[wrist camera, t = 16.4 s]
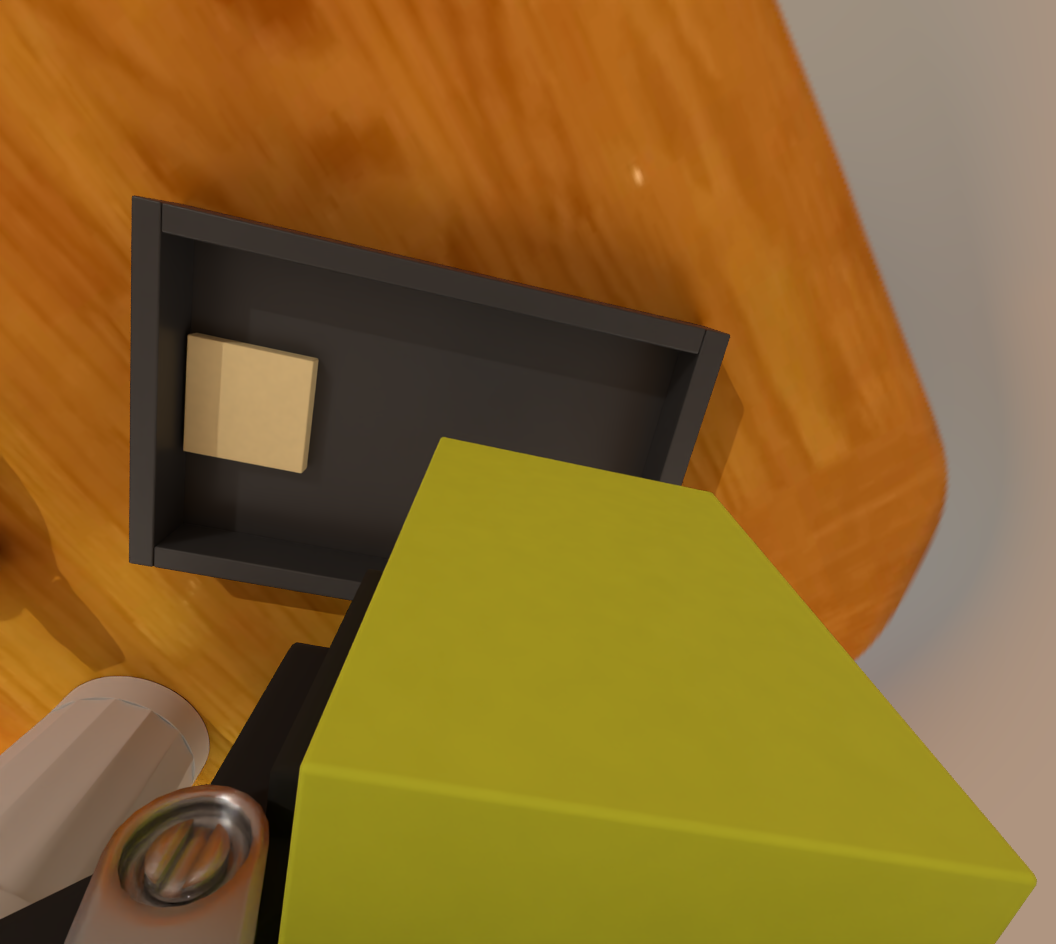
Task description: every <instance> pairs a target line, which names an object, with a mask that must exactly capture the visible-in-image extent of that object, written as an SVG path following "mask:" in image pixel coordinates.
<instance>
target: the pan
mask: <svg viewBox="0 0 1056 944" xmlns="http://www.w3.org/2000/svg"><path fill="white" fill-rule="evenodd" d="M193 333H201V334H205V335H210V336H215V337H220V338H224V339H229V340H234V341H238V342H243V343H248V344H253V345H257V346H262V347H267V348H271V349H276V350H281V351H286V352H290V353H295V354H300V355H304V356H309V357H314V358H318V360H319V361H318V370H317V379H316V388H315V397H314V406H313V416H312V425H311V434H310V443H309V452H308V461H307V468H306V469H305V470H304V471H303V472H302V473H297V472H291V471H286V470H281V469H276V468H270V467H265V466H260V465H255V464H250V463H244V462H239V461H234V460H229V459H223V458H218V457H213V456H208V455H203V454H197V453H192V452H187V451H183V442H184V415H185V389H186V362H187V336H188V335H189V334H193ZM729 338H730V335H729V334H727V333H724V332H720V331H717V330H714V329H711V328H708V327H705V326H701V325H697V324H693V323H689V322H684V321H680V320H676V319H671V318H667V317H663V316H659V315H654V314H650V313H646V312H642V311H637V310H633V309H629V308H624V307H620V306H616V305H612V304H607V303H603V302H599V301H594V300H590V299H586V298H582V297H577V296H573V295H569V294H565V293H560V292H556V291H552V290H547V289H543V288H539V287H535V286H530V285H526V284H522V283H517V282H513V281H509V280H505V279H500V278H496V277H492V276H488V275H483V274H479V273H475V272H470V271H466V270H462V269H458V268H453V267H449V266H445V265H440V264H436V263H432V262H428V261H423V260H419V259H415V258H411V257H406V256H402V255H398V254H393V253H389V252H385V251H381V250H376V249H372V248H368V247H363V246H359V245H355V244H351V243H346V242H342V241H338V240H334V239H329V238H325V237H321V236H316V235H312V234H308V233H304V232H299V231H295V230H291V229H286V228H282V227H278V226H274V225H269V224H265V223H261V222H256V221H252V220H248V219H244V218H239V217H235V216H231V215H227V214H222V213H218V212H214V211H209V210H205V209H201V208H197V207H192V206H188V205H184V204H179V203H174V202H168V201H162V200H157V199H151V198H145V197H140V196H132V242H131V376H130V510H129V562H130V563H133V564H139V565H145V566H151V567H152V566H155V567H158V568H164V569H170V570H176V571H181V572H187V573H193V574H199V575H205V576H211V577H217V578H222V579H228V580H234V581H240V582H246V583H252V584H258V585H264V586H269V587H275V588H281V589H287V590H293V591H299V592H305V593H310V594H316V595H322V596H328V597H334V598H340V599H346V600H351V601H352V600H353V598H354V596H355V594H356V592H357V590H358V588H359V586H360V584H361V582H362V580H363V577H364V575H365V573H366V571H367V570H368V569H374V570H379V571H384V569H385V567H386V565H387V562H388V560H389V558H390V555H391V553H392V551H393V548H394V546H395V544H396V541H397V539H398V537H399V534H400V532H401V530H402V527H403V525H404V523H405V520H406V518H407V516H408V513H409V511H410V509H411V506H412V504H413V502H414V499H415V497H416V495H417V492H418V490H419V488H420V485H421V483H422V481H423V478H424V476H425V473H426V471H427V469H428V466H429V464H430V462H431V459H432V457H433V455H434V452H435V450H436V448H437V445H438V443H439V441H440V439H441V438H442V437H446V438H451V439H456V440H461V441H466V442H470V443H475V444H480V445H485V446H490V447H495V448H499V449H504V450H509V451H514V452H519V453H524V454H528V455H533V456H538V457H543V458H548V459H553V460H557V461H562V462H567V463H572V464H577V465H582V466H586V467H591V468H596V469H601V470H606V471H611V472H615V473H620V474H625V475H630V476H635V477H639V478H644V479H649V480H654V481H659V482H664V483H668V484H673V485H678V486H681V485H682V482H683V479H684V476H685V473H686V469H687V466H688V463H689V460H690V457H691V454H692V451H693V448H694V445H695V442H696V439H697V436H698V433H699V430H700V427H701V424H702V421H703V418H704V415H705V412H706V408H707V405H708V402H709V399H710V396H711V393H712V390H713V387H714V384H715V381H716V378H717V375H718V372H719V369H720V366H721V363H722V360H723V357H724V354H725V351H726V347H727V344H728V341H729Z"/></svg>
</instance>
